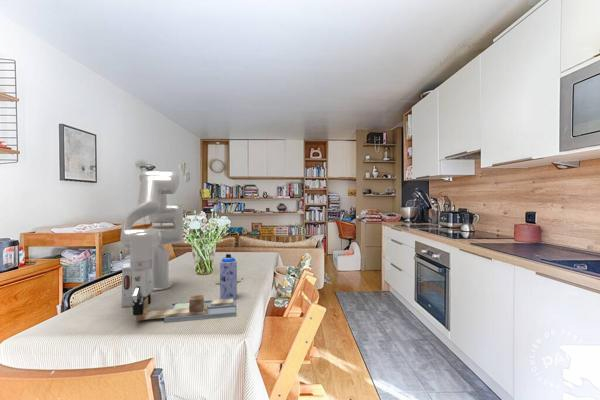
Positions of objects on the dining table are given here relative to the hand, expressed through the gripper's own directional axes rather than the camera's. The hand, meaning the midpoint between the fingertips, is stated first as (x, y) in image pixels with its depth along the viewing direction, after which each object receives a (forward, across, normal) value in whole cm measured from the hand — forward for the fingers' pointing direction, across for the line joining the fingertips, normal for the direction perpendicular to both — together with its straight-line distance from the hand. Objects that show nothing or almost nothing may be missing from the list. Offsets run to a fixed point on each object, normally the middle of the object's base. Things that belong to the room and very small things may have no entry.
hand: (142, 309), depth 109 cm
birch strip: (+3, -1, -11) cm, 11 cm away
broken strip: (+4, +7, -26) cm, 27 cm away
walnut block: (+2, 0, -20) cm, 20 cm away
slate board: (+4, +3, -22) cm, 22 cm away
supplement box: (+5, +20, +8) cm, 23 cm away
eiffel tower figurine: (+6, +43, -32) cm, 54 cm away
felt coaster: (+4, +7, -13) cm, 16 cm away
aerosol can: (+4, +17, -32) cm, 36 cm away
